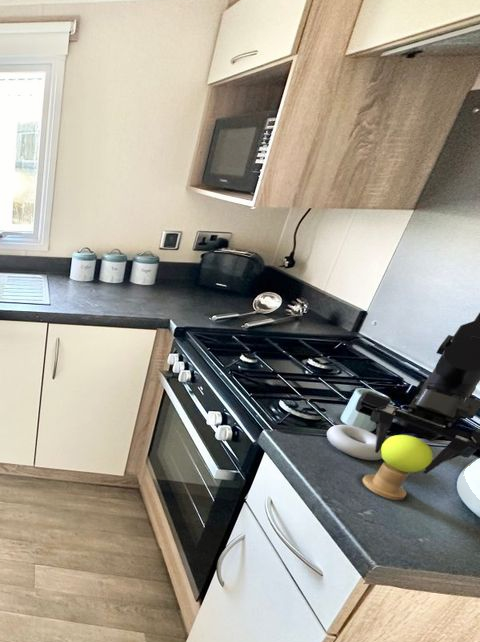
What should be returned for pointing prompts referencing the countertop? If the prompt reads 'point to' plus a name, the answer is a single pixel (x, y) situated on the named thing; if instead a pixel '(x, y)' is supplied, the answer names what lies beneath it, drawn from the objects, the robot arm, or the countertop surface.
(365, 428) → the cup
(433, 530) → the countertop surface
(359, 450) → the donut
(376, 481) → the wooden egg stand
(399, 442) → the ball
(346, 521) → the countertop surface
